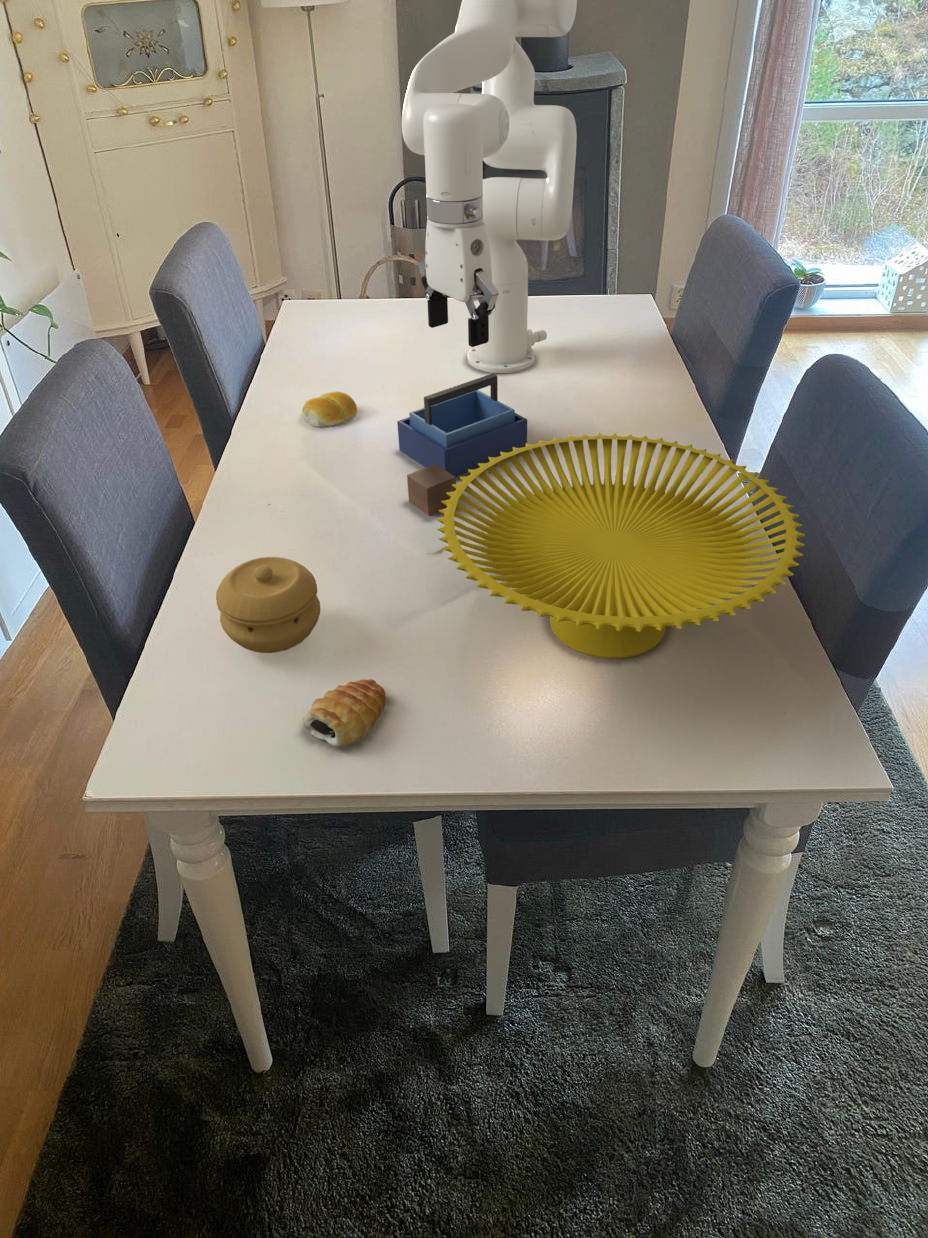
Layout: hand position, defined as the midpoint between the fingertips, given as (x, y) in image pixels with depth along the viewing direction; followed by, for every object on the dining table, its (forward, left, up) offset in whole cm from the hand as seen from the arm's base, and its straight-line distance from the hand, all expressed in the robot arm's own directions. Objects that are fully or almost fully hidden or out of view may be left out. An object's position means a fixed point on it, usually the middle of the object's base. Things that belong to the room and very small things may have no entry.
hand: (458, 334), depth 136 cm
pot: (+45, +22, -19) cm, 54 cm away
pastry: (+46, +40, -19) cm, 64 cm away
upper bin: (0, 0, -19) cm, 19 cm away
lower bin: (0, 0, -19) cm, 19 cm away
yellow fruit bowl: (+12, +45, -19) cm, 50 cm away
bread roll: (+10, -24, -19) cm, 32 cm away
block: (+13, +10, -19) cm, 25 cm away
